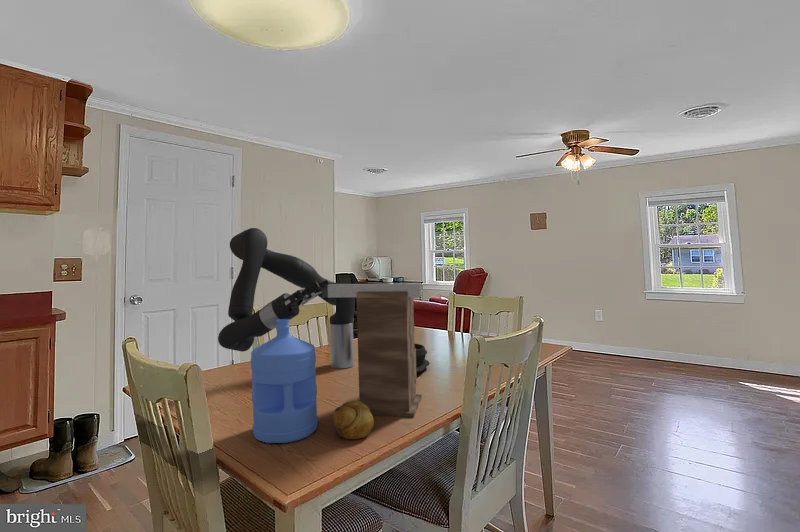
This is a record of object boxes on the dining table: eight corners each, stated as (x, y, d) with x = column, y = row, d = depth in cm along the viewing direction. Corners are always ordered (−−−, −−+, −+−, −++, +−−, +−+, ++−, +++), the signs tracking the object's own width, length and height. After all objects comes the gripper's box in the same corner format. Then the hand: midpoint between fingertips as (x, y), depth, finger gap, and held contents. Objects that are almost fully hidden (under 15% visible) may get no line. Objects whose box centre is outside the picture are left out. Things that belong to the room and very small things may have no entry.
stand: (367, 395, 125) (364, 288, 124) (421, 397, 122) (418, 287, 121) (352, 414, 110) (349, 292, 109) (413, 417, 107) (410, 292, 106)
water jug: (251, 425, 104) (247, 318, 104) (311, 414, 111) (308, 313, 110) (255, 451, 90) (250, 327, 90) (324, 437, 96) (320, 321, 96)
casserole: (381, 361, 167) (381, 341, 166) (426, 359, 167) (425, 339, 167) (381, 379, 142) (380, 355, 142) (433, 377, 142) (433, 353, 142)
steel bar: (327, 296, 117) (326, 284, 117) (421, 295, 112) (421, 283, 112) (322, 297, 114) (321, 285, 114) (419, 297, 108) (419, 284, 108)
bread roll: (337, 421, 106) (336, 391, 106) (374, 419, 106) (373, 389, 106) (332, 444, 93) (331, 409, 93) (374, 442, 93) (373, 408, 93)
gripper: (260, 303, 112) (307, 273, 109) (284, 298, 126) (326, 271, 123) (273, 326, 111) (320, 297, 108) (296, 318, 125) (338, 292, 122)
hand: (323, 283), depth 116 cm, fingers open, 8 cm apart
